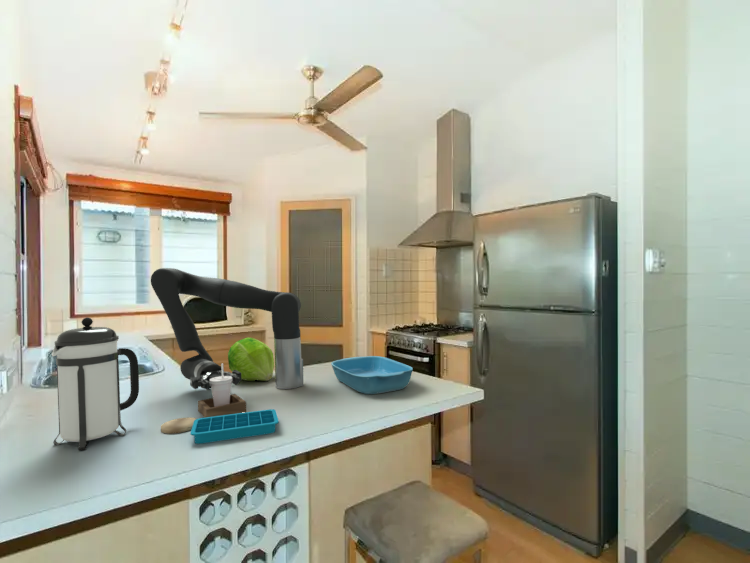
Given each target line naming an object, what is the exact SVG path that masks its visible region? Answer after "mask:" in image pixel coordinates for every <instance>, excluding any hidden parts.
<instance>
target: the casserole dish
mask: <svg viewBox="0 0 750 563" xmlns="http://www.w3.org/2000/svg"><path fill="white" fill-rule="evenodd" d="M331 367H332V369H333V372H334V375H335V377H336V379H337V380H338V381H339V382H341V383H343V384H344V385H346V386H347V387H350V388H351V389H353V390H355V391H356V392H359V393H361V394H364V395H376V394H383V393H388V392H394V391H400V390H403V389H405V387H407V386H408V385H409V384H410V380H411V376H412V373H413V370H414V369H413V367H412V366H410V365H407V364H405V363H403V362H399V361H397V360H394V359H391V358H389V357H386V356H385V357H384V356H378V355H368V356H366V355H365V356H354V357H346V358H341V359H337V360H334V361H331Z"/></svg>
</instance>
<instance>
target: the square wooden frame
mask: <svg viewBox="0 0 750 563" xmlns="http://www.w3.org/2000/svg"><path fill="white" fill-rule="evenodd" d="M197 411H198V413H200V415H201V416H202V418H206V417H214V416H222V415H229V414H237V413H242V412H248V411H247V401H246V400H245V399H243V398H241V397H240V396H239V395H238V394H236V393H232V394H231V393H230V403H229V404H226V405H221V406H216V407H214V402H213V397H209V398H205V399H200V400H197Z"/></svg>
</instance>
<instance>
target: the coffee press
mask: <svg viewBox="0 0 750 563" xmlns="http://www.w3.org/2000/svg"><path fill="white" fill-rule="evenodd" d="M93 322H94V321H93V319H92V318H91V317H83V319H82V320H81V321H80V323H81V325H82V326H83V327H80V328H73V329H68V330H65V331H63V332H61V333H60V334H59V335H58V336H57V338H56V340H55V341H54V347H53V349H52V352H51V356H52V357H55V356H56V357H55V363H56V364H55V365H56V367H57V368H56V379H57V381H56V382H57V407H58V408H57V411H58V433H57V434H58V435H57V436H56V437H55V438H54V440H53V445H54V446H59V445H61V444H63V442H64V441H65V442H70V443H72V442H74V443H75V442H76V443H78V446H77V448H78V451H79V452H80V451H85V450H87V448H88V444H89V442H90V441H92V440H96V439H100V438H104V437H105V436H106V437H107V436H108V435H110V434H112V433H113V434H117V435H118V436H120V437H123V436H125V435H126V434H127V430H128V429H127V428H125V427H124V426H123V424H122V420H121V418H122V417H121V414H122V413H121V411H124V410H126V409H129V408H131V406H133V405H134V404H135V402H136V400H138V396H139V392H140V378H139V374H140V373H139V361H138V357H137V355H136V353H135V352H134V350H131V349H130V348H125V347H123V348H118V341H119V335H117V333H116V331H115V330H114V329H113V328H110V327H105V326H92V324H93ZM119 356H125V357H126V358H128V361H129V373H130V374H129V376H130V378H129V379H130V381H129V382H130V394H129V396H128V398H127V399H126V400H125V401H123V402H121V395H120V366H119V365H120V364H119ZM119 427H120V428H121V429H122V431H124V432H123V433H122V432H120V431H118V429H119ZM59 437H60V438H62V441H60V442H58V441H57V439H58V438H59Z"/></svg>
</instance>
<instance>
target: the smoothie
mask: <svg viewBox="0 0 750 563" xmlns="http://www.w3.org/2000/svg"><path fill="white" fill-rule="evenodd" d="M220 366H221V372H222V376H219V377H214V378H211V379H210V380H209V383H210V384H211V388H210V389H211V395H212V398H213V402H214V407H216V406H221V405H226V404H229V403H230V395H231V390H232V383H231V382H232V381H233V380H232V377H231V376H224V372H225V370H224V363H221V364H220ZM223 370H224V371H223Z"/></svg>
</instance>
